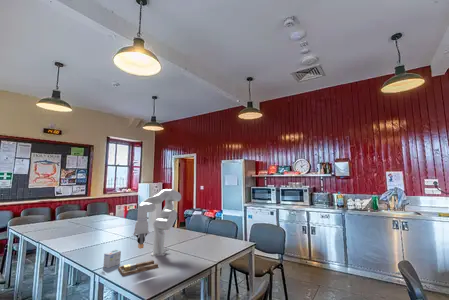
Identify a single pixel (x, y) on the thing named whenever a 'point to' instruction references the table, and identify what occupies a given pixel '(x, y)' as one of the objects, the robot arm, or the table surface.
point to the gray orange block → (141, 242)
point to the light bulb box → (112, 258)
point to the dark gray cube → (132, 266)
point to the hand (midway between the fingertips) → (140, 242)
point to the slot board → (140, 267)
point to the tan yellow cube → (126, 268)
